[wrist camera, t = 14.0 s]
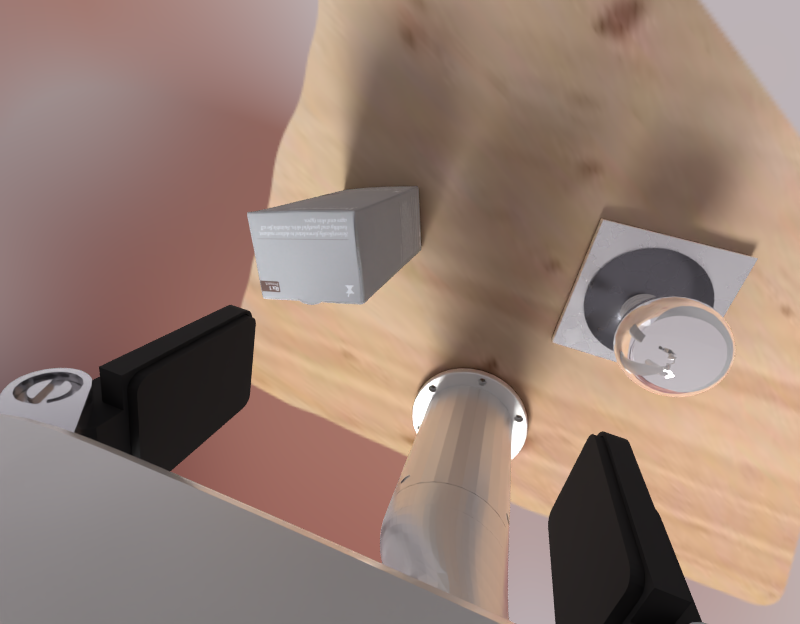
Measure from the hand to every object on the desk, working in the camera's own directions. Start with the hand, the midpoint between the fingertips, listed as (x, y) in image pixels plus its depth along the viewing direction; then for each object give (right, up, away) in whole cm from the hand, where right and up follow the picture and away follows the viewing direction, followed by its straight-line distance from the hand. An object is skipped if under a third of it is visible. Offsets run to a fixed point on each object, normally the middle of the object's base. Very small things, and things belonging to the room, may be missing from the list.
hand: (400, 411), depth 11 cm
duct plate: (+22, +4, +26) cm, 34 cm away
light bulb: (+21, +3, +25) cm, 33 cm away
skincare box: (-2, +12, +30) cm, 32 cm away
